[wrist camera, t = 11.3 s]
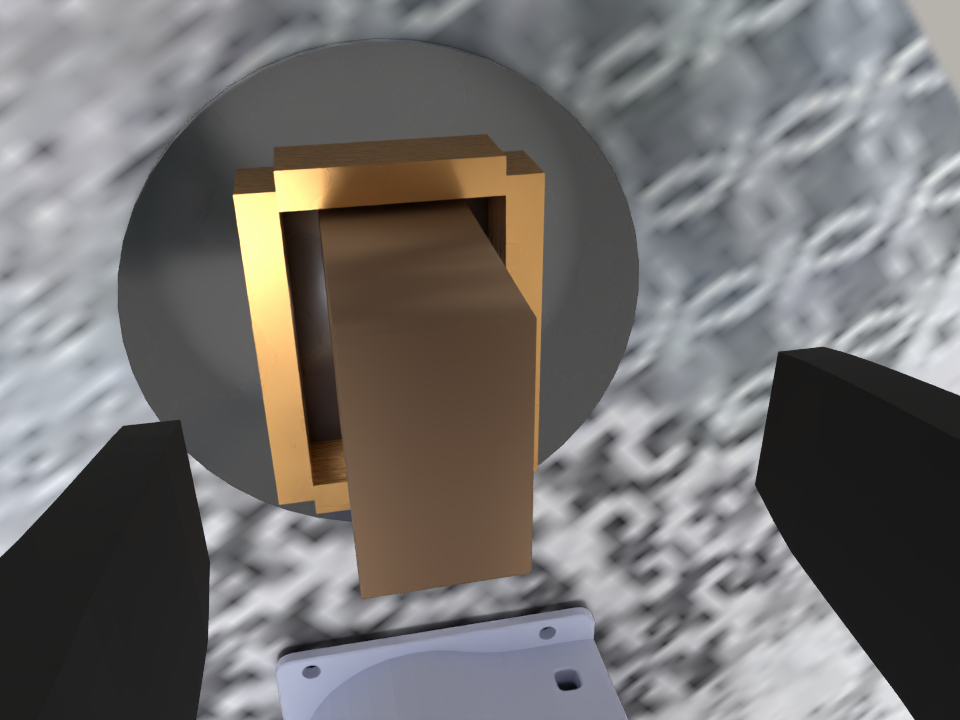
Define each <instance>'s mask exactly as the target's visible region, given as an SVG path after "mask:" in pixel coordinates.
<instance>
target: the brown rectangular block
mask: <svg viewBox="0 0 960 720" xmlns="http://www.w3.org/2000/svg"><path fill="white" fill-rule="evenodd" d="M317 211H318V220H319V230H320V239H321V249H322V259H323V268H324V278H325V287H326V297H327V307H328V316H329V326H330V335H331V345H332V355H333V364H334V374H335V383H336V393H337V402H338V410H339V418H340V426H341V434H342V443H343V451H344V459H345V467H346V476H347V484H348V492H349V500H350V509H351V517H352V525H353V533H354V542H355V550H356V558H357V566H358V575H359V583H360V591H361V599H366V598H372V597H379V596H385V595H392V594H398V593H405V592H411V591H418V590H425V589H431V588H438V587H444V586H451V585H457V584H464V583H470V582H477V581H483V580H490V579H496V578H503V577H509V576H516V575H522V574H529V573H531V567H532V520H533V473H534V426H535V378H536V331H537V318H536V316H535V314H534V313H533V311H532V310H531V308H530V306H529V305H528V303H527V301H526V300H525V298H524V297H523V295H522V293H521V292H520V290H519V288H518V287H517V285H516V284H515V282H514V280H513V279H512V277H511V275H510V274H509V272H508V271H507V269H506V267H505V266H504V264H503V262H502V261H501V259H500V257H499V256H498V254H497V253H496V251H495V249H494V248H493V246H492V244H491V243H490V241H489V240H488V238H487V236H486V235H485V233H484V231H483V230H482V228H481V227H480V225H479V223H478V222H477V220H476V218H475V217H474V215H473V214H472V212H471V210H470V209H469V207H468V205H467V204H466V202H465V201H464V199H463V198H462V199H448V200H435V201H421V202H408V203H394V204H381V205H367V206H354V207H340V208H327V209H317Z"/></svg>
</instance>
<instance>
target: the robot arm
mask: <svg viewBox="0 0 960 720" xmlns="http://www.w3.org/2000/svg"><path fill="white" fill-rule="evenodd" d="M755 486H756V488H757V490H758V492H759V494H760V496H761V498H762V499H763V501H764V503H765V505H766V507H767V509H768V511H769V513H770V515H771V517H772V519H773V521H774V523H775V524H776V526H777V528H778V530H779V531H780V533H781V535H782V537H783V539H784V540H785V542H786V544H787V546H788V547H789V549H790V551H791V552H792V554H793V555H794V556H795V558H796V559H797V561H798V562H799V563H800V565H801V566H802V568H803V569H804V570H805V572H806V573H807V574H808V576H809V577H810V579H811V580H812V581H813V583H814V584H815V585H816V587H817V588H818V589H819V591H820V592H821V594H822V595H823V596H824V598H825V599H826V600H827V602H828V603H829V604H830V606H831V607H832V608H833V610H834V611H835V612H836V614H837V615H838V616H839V618H840V619H841V620H842V622H843V623H844V624H845V626H846V627H847V628H848V630H849V631H850V632H851V634H852V635H853V636H854V638H855V639H856V640H857V642H858V643H859V644H860V646H861V647H862V648H863V650H864V651H865V652H866V654H867V655H868V656H869V658H870V659H871V660H872V662H873V663H874V664H875V666H876V667H877V668H878V670H879V671H880V672H881V674H882V675H883V676H884V678H885V679H886V680H887V682H888V683H889V684H890V686H891V687H892V688H893V690H894V691H895V692H896V694H897V695H898V696H899V698H900V699H901V701H902V702H903V703H904V705H905V706H906V708H907V709H908V711H909V712H910V714H911V715H912V717H913V718H914V719H915V720H960V396H959V395H957V394H954V393H952V392H949V391H946V390H944V389H941V388H939V387H936V386H934V385H931V384H929V383H926V382H923V381H921V380H918V379H916V378H913V377H911V376H908V375H906V374H903V373H900V372H898V371H895V370H893V369H890V368H887V367H885V366H882V365H879V364H876V363H874V362H871V361H868V360H865V359H862V358H859V357H857V356H854V355H850V354H847V353H844V352H841V351H837V350H833V349H830V348H826V347H817V348H808V349H799V350H790V351H782V352H778V356H777V362H776V368H775V373H774V379H773V385H772V391H771V396H770V402H769V408H768V413H767V419H766V425H765V431H764V436H763V442H762V448H761V453H760V459H759V465H758V471H757V476H756V482H755ZM209 577H210V560H209V556H208V551H207V546H206V541H205V536H204V532H203V527H202V522H201V517H200V512H199V507H198V503H197V498H196V493H195V488H194V483H193V479H192V474H191V469H190V464H189V459H188V454H187V450H186V445H185V440H184V435H183V430H182V426H181V421H180V420H172V421H163V422H154V423H145V424H136V425H128V426H122V427H121V429H120V430H119V431H118V432H117V433H116V434H115V435H114V436H113V437H112V438H111V439H110V440H109V441H108V442H107V444H106V445H105V446H104V447H103V448H102V449H101V450H100V451H99V452H98V454H97V455H96V456H95V457H94V458H93V459H92V460H91V461H90V462H89V464H88V465H87V466H86V467H85V468H84V469H83V470H82V471H81V473H80V474H79V475H78V476H77V477H76V478H75V479H74V480H73V482H72V483H71V484H70V485H69V486H68V487H67V488H66V489H65V490H64V492H63V493H62V494H61V495H60V496H59V497H58V498H57V499H56V500H55V502H54V503H53V504H52V505H51V506H50V507H49V508H48V509H47V510H46V511H45V512H44V513H43V514H42V515H41V516H40V518H39V519H38V520H37V521H36V522H35V523H34V524H33V525H32V526H31V527H30V528H29V529H28V530H27V531H26V532H25V534H24V535H23V536H22V537H21V538H20V539H19V540H18V541H17V542H16V543H15V544H14V545H13V546H12V547H11V548H10V549H9V550H8V551H6V552H5V553H4V554H3V555H2V556H1V557H0V720H196V717H197V711H198V704H199V697H200V691H201V684H202V678H203V671H204V664H205V657H206V650H207V643H208V620H209ZM545 627H549V628H548V629H545V630H542V629H543V628H545ZM594 627H595V623H594V619H593V617H592V614H591V612H590V611H589V610H588V609H586V608H583V607H576V608H570V609H564V610H557V611H551V612H545V613H539V614H532V615H526V616H520V617H514V618H508V619H501V620H495V621H489V622H483V623H476V624H470V625H464V626H458V627H451V628H445V629H439V630H433V631H427V632H420V633H414V634H408V635H402V636H395V637H389V638H383V639H377V640H371V641H364V642H358V643H352V644H346V645H339V646H333V647H327V648H321V649H314V650H308V651H302V652H296V653H291V654H287V655H285V656H283V657H282V658H280V659H279V661H278V662H277V664H276V680H277V686H278V692H279V697H280V703H281V709H282V715H283V720H628V719H627V716H626V714H625V712H624V709H623V707H622V705H621V702H620V700H619V698H618V695H617V693H616V690H615V688H614V686H613V683H612V681H611V679H610V676H609V674H608V672H607V669H606V667H605V665H604V662H603V660H602V658H601V655H600V653H599V651H598V648H597V646H596V644H595V641H594ZM310 665H315V666H316V667H314V668H306V667H308V666H310Z"/></svg>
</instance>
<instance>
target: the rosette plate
mask: <svg viewBox="0 0 960 720" xmlns="http://www.w3.org/2000/svg"><path fill="white" fill-rule="evenodd" d="M462 198H463V199H464V201H465V202H466V204H467V205H468V207H469V209H470V210H471V212H472V214H473V215H474V217H475V218H476V220H477V222H478V223H479V225H480V227H481V228H482V230H483V231H484V233H485V235H486V236H487V238H488V240H489V241H490V243H491V244H492V246H493V248H494V249H495V251H496V253H497V254H498V256H499V257H500V259H501V261H502V262H503V264H504V266H505V267H506V269H507V271H508V272H509V274H510V275H511V277H512V279H513V280H514V282H515V284H516V285H517V287H518V288H519V290H520V292H521V293H522V295H523V297H524V298H525V300H526V301H527V303H528V305H529V306H530V308H531V310H532V311H533V313H534V314H535V316H536V318H537V331H536V378H535V426H534V471H538V465H540V464H541V463H542V462H543V461H545V460H546V459H547V458H548V457H549V456H550V455H552V454H553V453H554V452H555V451H556V450H557V449H559V448H560V447H561V446H562V445H563V444H564V443H565V442H566V441H567V440H568V439H569V438H570V437H571V436H572V434H573V433H574V432H575V431H576V430H577V429H578V428H579V427H580V426H581V425H582V424H583V423H584V421H585V420H586V418H587V417H588V416H589V414H590V413H591V412H592V410H593V409H594V408H595V406H596V405H597V404H598V402H599V401H600V399H601V398H602V396H603V394H604V393H605V391H606V389H607V387H608V386H609V384H610V382H611V380H612V379H613V377H614V375H615V373H616V371H617V368H618V366H619V363H620V361H621V359H622V356H623V354H624V352H625V349H626V346H627V343H628V339H629V336H630V332H631V329H632V325H633V322H634V316H635V310H636V303H637V296H638V277H639V259H638V251H637V243H636V235H635V229H634V226H633V222H632V218H631V214H630V211H629V207H628V203H627V200H626V198H625V196H624V193H623V191H622V189H621V186H620V184H619V182H618V179H617V177H616V175H615V172H614V171H613V169H612V168H611V166H610V164H609V163H608V161H607V159H606V158H605V156H604V154H603V153H602V151H601V150H600V148H599V146H598V145H597V144H596V142H595V141H594V140H593V139H592V138H591V136H590V135H589V134H588V133H587V132H586V130H585V129H584V128H583V127H582V126H581V124H580V123H579V122H578V121H577V120H576V119H575V118H574V117H573V116H572V115H571V114H570V113H569V112H567V111H566V110H565V109H564V108H563V107H562V106H561V105H560V104H559V103H557V102H556V101H555V100H554V99H553V98H552V97H551V96H549V95H548V94H547V93H545V92H544V91H542V90H541V89H539V88H538V87H536V86H535V85H533V84H532V83H530V82H529V81H527V80H526V79H524V78H523V77H521V76H520V75H518V74H517V73H515V72H514V71H511V70H509V69H507V68H505V67H503V66H501V65H499V64H497V63H495V62H493V61H491V60H489V59H486V58H484V57H482V56H479V55H476V54H472V53H469V52H466V51H463V50H460V49H457V48H453V47H450V46H446V45H440V44H434V43H428V42H422V41H416V40H404V39H366V40H357V41H348V42H339V43H333V44H329V45H325V46H321V47H317V48H313V49H309V50H305V51H302V52H298V53H295V54H293V55H290V56H288V57H286V58H283V59H281V60H278V61H276V62H273V63H271V64H268V65H266V66H264V67H261V68H260V69H258V70H256V71H255V72H253V73H251V74H249V75H248V76H246V77H244V78H243V79H241V80H239V81H237V82H236V83H234V84H232V85H231V86H229V87H228V88H227V89H225V90H224V91H223V92H221V93H220V94H219V95H218V96H216V97H215V98H214V99H213V100H211V101H210V102H209V103H208V104H206V105H205V106H204V107H203V108H201V109H200V110H199V111H198V112H197V113H196V114H195V115H194V116H193V117H192V119H191V120H190V121H189V122H188V123H187V124H186V125H185V126H184V127H183V128H182V129H181V130H180V131H179V132H178V133H177V134H176V136H175V137H174V138H173V139H172V141H171V142H170V144H169V145H168V147H167V148H166V149H165V151H164V152H163V154H162V155H161V157H160V158H159V160H158V161H157V162H156V164H155V165H154V167H153V169H152V171H151V173H150V175H149V177H148V179H147V181H146V183H145V185H144V187H143V189H142V191H141V193H140V195H139V197H138V199H137V201H136V204H135V206H134V209H133V212H132V215H131V218H130V221H129V224H128V227H127V231H126V234H125V237H124V240H123V246H122V252H121V259H120V265H119V271H118V312H119V319H120V325H121V332H122V338H123V343H124V346H125V349H126V352H127V356H128V359H129V362H130V365H131V369H132V372H133V374H134V376H135V378H136V380H137V382H138V384H139V386H140V388H141V390H142V393H143V395H144V397H145V399H146V401H147V402H148V404H149V405H150V407H151V408H152V410H153V411H154V413H155V414H156V416H157V417H158V419H159V420H160V422H163V421H172V420H180V421H181V426H182V430H183V435H184V440H185V445H186V450H187V452H188V453H189V454H190V455H191V456H192V457H193V458H195V459H196V460H197V461H198V462H199V463H200V464H202V465H203V466H204V467H205V468H206V469H207V470H209V471H210V472H212V473H213V474H215V475H216V476H218V477H219V478H221V479H222V480H224V481H225V482H227V483H228V484H230V485H231V486H233V487H235V488H237V489H239V490H241V491H243V492H245V493H247V494H249V495H251V496H253V497H255V498H257V499H259V500H261V501H264V502H267V503H269V504H272V505H275V506H278V507H280V508H283V509H286V510H289V511H293V512H297V513H301V514H305V515H309V516H314V517H318V518H326V519H334V520H341V521H352V517H351V509H350V500H349V492H348V484H347V476H346V467H345V459H344V451H343V443H342V434H341V426H340V418H339V410H338V402H337V393H336V383H335V374H334V364H333V355H332V345H331V335H330V326H329V316H328V307H327V297H326V287H325V278H324V268H323V259H322V249H321V239H320V230H319V220H318V211H317V209H327V208H340V207H354V206H367V205H381V204H394V203H408V202H421V201H435V200H448V199H462Z"/></svg>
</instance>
